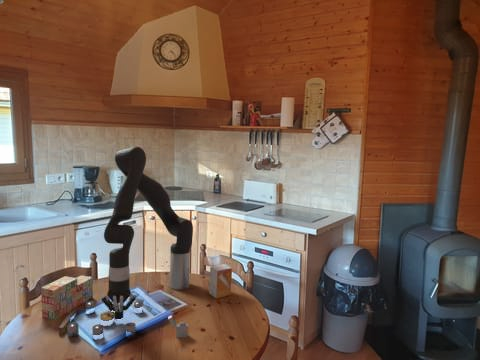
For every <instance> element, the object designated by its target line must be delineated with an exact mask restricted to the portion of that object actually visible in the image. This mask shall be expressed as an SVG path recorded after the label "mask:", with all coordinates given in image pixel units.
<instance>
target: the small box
mask: <svg viewBox="0 0 480 360" xmlns="http://www.w3.org/2000/svg"><path fill="white" fill-rule="evenodd" d="M232 272H233V268H232V267H231V266H229V265H228V264H226V263H222V264H217V265H212V266H210V268H209V289H208V290H209V291H208V292H209V295H210V296H212V297H214V298H215V299H218V298H222V297H227V296H230V295H232V293H231V291H232V275H233V273H232Z"/></svg>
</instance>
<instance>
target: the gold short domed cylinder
mask: <svg viewBox="0 0 480 360" xmlns="http://www.w3.org/2000/svg"><path fill="white" fill-rule="evenodd" d="M99 315H100V316H99V317H100V319H101V320H103V321H109V320H112V319H113V318H114V319H115V314H114V312H111V311H109V310H108V311H107V310H106V311H104V312H101V313H100V314H99Z"/></svg>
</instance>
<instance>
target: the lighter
mask: <svg viewBox="0 0 480 360" xmlns="http://www.w3.org/2000/svg"><path fill="white" fill-rule="evenodd" d="M167 319H168V322H169V323H170V325H171V327H172V329H174V328H175V334H176V335H175V337H176V338H177V339H178V338H179V339H180V338H188V335H189V323H187V322H185V321H180V322H179V323H177V322H176V320H175V319H174V316H173V315H172V314H171V315H169V316H168V317H167Z"/></svg>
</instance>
